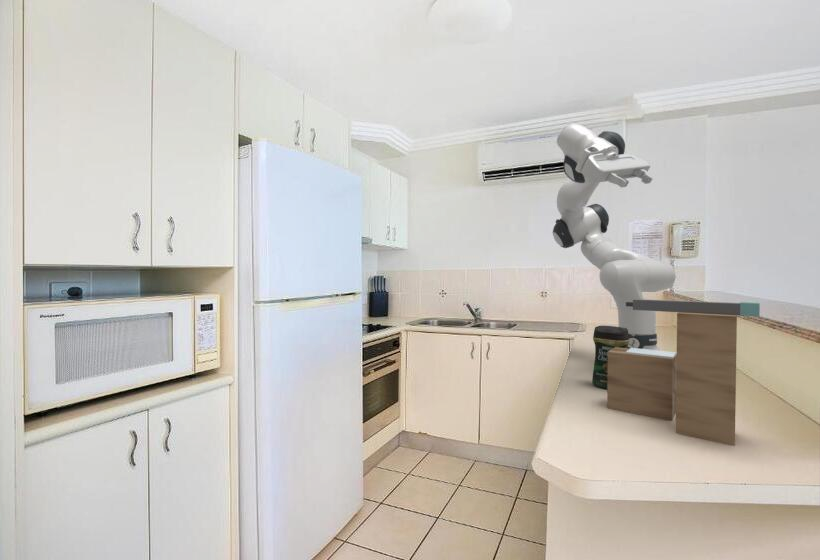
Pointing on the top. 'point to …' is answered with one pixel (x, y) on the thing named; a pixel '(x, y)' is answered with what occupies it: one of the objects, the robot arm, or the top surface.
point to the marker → (697, 307)
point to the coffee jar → (606, 350)
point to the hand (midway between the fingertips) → (637, 183)
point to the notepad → (651, 353)
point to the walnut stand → (683, 379)
